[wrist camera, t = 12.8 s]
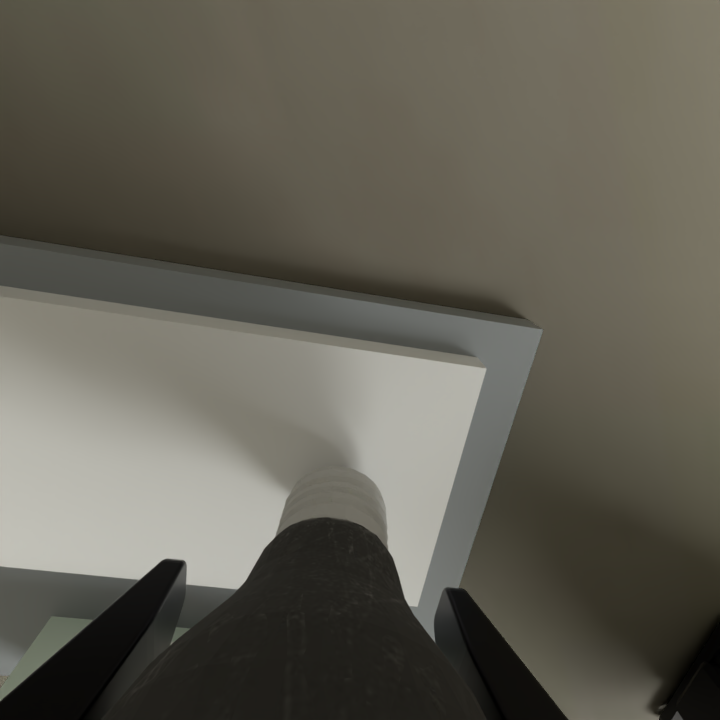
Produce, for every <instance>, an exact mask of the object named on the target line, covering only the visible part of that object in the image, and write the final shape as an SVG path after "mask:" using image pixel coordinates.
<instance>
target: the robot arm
mask: <svg viewBox="0 0 720 720" xmlns="http://www.w3.org/2000/svg"><path fill="white" fill-rule="evenodd" d="M186 576H187V564H186V562H185V561H184V560H179V559H169V558H167V559H164V560H162V561H161V562H159V563H158V564H157V565H156V566H155V567H154V568H152V569H151V570H150V571H149V572H148V573H147V574H146V575H144V576H143V577H142V578H141V579H140V580H139V581H138V582H136V583H135V584H134V585H133V586H132V587H131V588H129V589H128V590H127V591H126V592H125V593H124V594H123V595H121V596H120V597H119V598H118V599H117V600H116V601H115V602H113V603H112V604H111V605H110V606H109V607H108V608H106V609H105V610H104V611H103V612H102V613H101V614H100V615H98V616H97V617H96V618H95V619H94V620H93V621H92V622H90V623H89V624H88V625H87V626H86V627H85V628H83V629H82V630H81V631H80V632H79V633H78V634H77V635H75V636H74V637H73V638H72V639H71V640H70V641H69V642H67V643H66V644H65V645H64V646H63V647H62V648H60V649H59V650H58V651H57V652H56V653H55V654H54V655H52V656H51V657H50V658H49V659H48V660H47V661H46V662H44V663H43V664H42V665H41V666H40V667H39V668H37V669H36V670H35V671H34V672H33V673H32V674H31V675H29V676H28V677H27V678H26V679H25V680H24V681H23V682H21V683H20V684H19V685H18V686H17V687H16V688H14V689H13V690H12V691H11V692H10V693H9V694H8V695H6V696H5V697H4V698H3V699H2V700H1V701H0V720H101V719H102V718H103V717H104V715H105V714H106V713H107V712H108V711H109V710H110V709H111V708H112V706H113V705H114V704H115V703H116V702H117V701H118V700H119V699H120V698H121V696H122V695H123V694H124V693H125V692H126V691H127V690H128V688H129V687H130V686H131V685H132V684H133V683H134V681H135V680H136V679H137V678H138V677H139V676H140V674H141V673H142V672H143V671H144V670H145V669H146V667H147V666H148V665H149V664H150V663H151V662H152V661H153V660H154V659H155V658H156V657H157V656H158V655H159V654H161V653H162V652H163V651H164V650H166V649H167V648H168V647H169V646H170V644H171V641H172V638H173V635H174V632H175V629H176V626H177V623H178V620H179V616H180V613H181V610H182V607H183V604H184V600H185V595H186ZM434 634H435V643H436V645H437V646H438V647H439V649H440V650H441V651H442V653H443V654H444V655H445V656H446V658H447V659H448V660H449V662H450V663H451V664H452V666H453V667H454V668H455V670H456V671H457V672H458V674H459V675H460V676H461V678H462V679H463V680H464V681H465V683H466V684H467V685H468V687H469V688H470V689H471V691H472V692H473V694H474V696H475V698H476V699H477V701H478V703H479V705H480V707H481V709H482V711H483V713H484V715H485V717H486V719H487V720H568V719H567V718H566V716H565V715H564V714H563V712H562V711H561V710H560V709H559V707H558V706H557V705H556V704H555V702H554V701H553V700H552V699H551V697H550V696H549V695H548V694H547V692H546V691H545V690H544V688H543V687H542V686H541V685H540V683H539V682H538V681H537V680H536V678H535V677H534V676H533V675H532V673H531V672H530V671H529V670H528V668H527V667H526V666H525V664H524V663H523V662H522V661H521V659H520V658H519V657H518V656H517V654H516V653H515V652H514V651H513V649H512V648H511V647H510V646H509V644H508V643H507V642H506V641H505V639H504V638H503V637H502V635H501V634H500V633H499V632H498V630H497V629H496V628H495V627H494V625H493V624H492V623H491V622H490V620H489V619H488V618H487V617H486V615H485V614H484V613H483V611H482V610H481V609H480V608H479V606H478V605H477V604H476V603H475V601H474V600H473V599H472V598H471V596H470V595H469V594H468V593H467V591H465V590H464V589H462V588H453V587H445V588H444V589H443V591H442V594H441V597H440V600H439V603H438V606H437V610H436V613H435V617H434ZM659 720H720V623H719V624H718V626H717V627H716V629H715V630H714V632H713V633H712V635H711V637H710V638H709V640H708V641H707V643H706V645H705V646H704V648H703V649H702V651H701V652H700V654H699V656H698V657H697V659H696V660H695V662H694V663H693V665H692V667H691V668H690V670H689V671H688V673H687V674H686V676H685V678H684V679H683V681H682V682H681V684H680V685H679V687H678V689H677V690H676V692H675V693H674V695H673V696H672V698H671V700H670V701H669V703H668V704H667V706H666V708H665V709H664V711H663V712H662V714H661V715H660V718H659Z"/></svg>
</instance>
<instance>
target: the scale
mask: <svg viewBox="0 0 720 720" xmlns="http://www.w3.org/2000/svg"><path fill="white" fill-rule="evenodd" d="M542 332H543V329H542V328H540V327H539V326H537V325H535V324H534V323H532V322H531V321H529V320H527V319H521V318H515V317H509V316H502V315H496V314H490V313H484V312H477V311H471V310H465V309H459V308H452V307H446V306H440V305H434V304H427V303H421V302H415V301H409V300H402V299H396V298H390V297H384V296H377V295H371V294H365V293H359V292H353V291H346V290H340V289H334V288H328V287H321V286H315V285H309V284H303V283H296V282H290V281H284V280H278V279H271V278H265V277H259V276H253V275H246V274H240V273H234V272H228V271H221V270H215V269H209V268H203V267H196V266H190V265H184V264H178V263H171V262H165V261H159V260H153V259H146V258H140V257H134V256H128V255H121V254H115V253H109V252H103V251H96V250H90V249H84V248H78V247H72V246H65V245H59V244H53V243H47V242H40V241H34V240H28V239H22V238H15V237H9V236H3V235H0V675H3V676H9V677H8V678H7V680H6V681H5V682H4V684H3V685H2V687H1V688H0V701H1V700H2V699H3V698H4V697H5V696H6V695H8V694H9V693H10V692H11V691H12V690H13V689H14V688H16V687H17V686H18V685H19V684H20V683H21V682H23V681H24V680H25V679H26V678H27V677H28V676H29V675H31V674H32V673H33V672H34V671H35V670H36V669H37V668H39V667H40V666H41V665H42V664H43V663H44V662H46V661H47V660H48V659H49V658H50V657H51V656H52V655H54V654H55V653H56V652H57V651H58V650H59V649H60V648H62V647H63V646H64V645H65V644H66V643H67V642H69V641H70V640H71V639H72V638H73V637H74V636H75V635H77V634H78V633H79V632H80V631H81V630H82V629H83V628H85V627H86V626H87V625H88V624H89V623H90V622H92V621H93V620H94V619H95V618H96V617H97V616H98V615H100V614H101V613H102V612H103V611H104V610H105V609H106V608H108V607H109V606H110V605H111V604H112V603H113V602H115V601H116V600H117V599H118V598H119V597H120V596H121V595H123V594H124V593H125V592H126V591H127V590H128V589H129V588H131V587H132V586H133V585H134V584H135V583H136V582H138V581H139V580H140V579H141V578H142V577H143V576H144V575H146V574H147V573H148V572H149V571H150V570H151V569H152V568H154V567H155V566H156V565H157V564H158V563H159V562H161V561H162V560H164V559H167V558H169V559H179V560H184V561H185V562H186V564H187V576H186V595H185V600H184V604H183V607H182V610H181V613H180V616H179V620H178V623H177V626H176V629H175V632H174V635H173V638H172V641H171V644H172V643H173V642H174V641H176V640H177V639H178V638H179V637H180V636H182V635H183V634H184V633H185V632H187V631H188V630H189V629H190V628H192V627H193V626H194V625H195V624H197V623H198V622H199V621H201V620H202V619H203V618H204V617H206V616H207V615H208V614H209V613H211V612H212V611H213V610H214V609H216V608H217V607H218V606H219V605H221V604H222V603H223V602H224V601H226V600H227V599H228V598H230V597H231V596H232V595H233V594H234V593H235V592H236V591H237V590H238V589H239V588H240V587H241V586H242V584H243V583H244V582H245V581H246V579H247V578H248V576H249V574H250V573H251V571H252V569H253V567H254V566H255V564H256V562H257V560H258V559H259V557H260V555H261V553H262V552H263V550H264V548H265V547H266V546H267V545H268V544H269V543H270V542H271V541H272V540H273V539H274V537H275V536H276V532H277V529H278V526H279V523H280V518H281V516H282V513H283V509H284V506H285V502H286V499H287V498H288V496H289V495H290V493H291V491H292V489H293V487H294V486H295V484H296V483H297V481H298V480H299V479H301V478H302V477H303V476H304V475H305V474H306V473H309V472H311V471H313V470H316V469H318V468H321V467H328V466H340V467H347V468H352V469H354V470H356V471H358V472H360V473H363V474H365V475H366V476H367V477H368V478H370V479H371V480H372V481H373V482H374V483H375V484H376V486H377V487H378V489H379V490H380V492H381V495H382V497H383V500H384V503H385V506H386V520H387V527H388V528H387V534H388V541H387V545H388V551H389V553H390V554H391V556H392V557H393V560H394V563H395V566H396V569H397V572H398V575H399V579H400V583H401V586H402V590H403V594H404V597H405V600H406V602H407V603H408V605H409V607H410V609H411V611H412V612H413V614H414V616H415V617H416V618H417V620H418V621H419V622H420V624H421V625H422V626H423V628H424V629H425V630H426V631H427V633H428V634H429V635H430V637H431V638H432V639H433V641H434V642H435V634H434V617H435V613H436V610H437V606H438V603H439V600H440V597H441V594H442V591H443V589H444V588H445V587H453V588H459V585H460V582H461V579H462V576H463V573H464V570H465V567H466V564H467V561H468V557H469V554H470V551H471V548H472V545H473V542H474V539H475V536H476V533H477V530H478V527H479V524H480V521H481V518H482V515H483V512H484V509H485V506H486V503H487V500H488V497H489V494H490V491H491V488H492V484H493V481H494V478H495V475H496V472H497V469H498V466H499V463H500V460H501V457H502V454H503V451H504V448H505V445H506V442H507V439H508V436H509V433H510V430H511V427H512V424H513V421H514V418H515V415H516V411H517V408H518V405H519V402H520V399H521V396H522V393H523V390H524V387H525V384H526V381H527V378H528V375H529V372H530V369H531V366H532V363H533V360H534V357H535V354H536V351H537V348H538V345H539V342H540V338H541V335H542ZM171 644H170V645H171Z"/></svg>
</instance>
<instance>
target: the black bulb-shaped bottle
mask: <svg viewBox="0 0 720 720" xmlns="http://www.w3.org/2000/svg"><path fill="white" fill-rule="evenodd" d="M387 528H388V527H387V520H386V506H385V503H384V500H383V497H382V495H381V492H380V490H379V489H378V487H377V486H376V484H375V483H374V482H373V481H372V480H371V479H370V478H368V477H367V476H366V475H365V474H363V473H360V472H358V471H356V470H354V469H352V468H347V467H340V466H328V467H321V468H318V469H316V470H313V471H311V472H309V473H306V474H305V475H304V476H303V477H302V478H301V479H299V480H298V481H297V483H296V484H295V486H294V487H293V489H292V491H291V493H290V495H289V496H288V498H287V499H286V502H285V506H284V509H283V513H282V516H281V518H280V523H279V526H278V529H277V532H276V536H275V537H274V539H273V540H272V541H271V542H270V543H269V544H268V545H267V546H266V547H265V548H264V550H263V552H262V553H261V555H260V557H259V559H258V560H257V562H256V564H255V566H254V567H253V569H252V571H251V573H250V574H249V576H248V578H247V579H246V581H245V582H244V583H243V584H242V586H241V587H240V588H239V589H238V590H237V591H236V592H235V593H234V594H233V595H232V596H231V597H230V598H228V599H227V600H226V601H224V602H223V603H222V604H221V605H219V606H218V607H217V608H216V609H214V610H213V611H212V612H211V613H209V614H208V615H207V616H206V617H204V618H203V619H202V620H201V621H199V622H198V623H197V624H195V625H194V626H193V627H192V628H190V629H189V630H188V631H187V632H185V633H184V634H183V635H182V636H180V637H179V638H178V639H177V640H176V641H174V642H173V643H172V644H171V645H170V646H169V647H168V648H167V649H166V650H164V651H163V652H162V653H161V654H159V655H158V656H157V657H156V658H155V659H154V660H153V661H152V662H151V663H150V664H149V665H148V666H147V667H146V669H145V670H144V671H143V672H142V673H141V674H140V676H139V677H138V678H137V679H136V680H135V681H134V683H133V684H132V685H131V686H130V687H129V688H128V690H127V691H126V692H125V693H124V694H123V695H122V696H121V698H120V699H119V700H118V701H117V702H116V703H115V704H114V705H113V706H112V708H111V709H110V710H109V711H108V712H107V713H106V714H105V715H104V717H103V718H102V719H101V720H487V719H486V717H485V715H484V713H483V711H482V709H481V707H480V705H479V703H478V701H477V699H476V698H475V696H474V694H473V692H472V691H471V689H470V688H469V687H468V685H467V684H466V683H465V681H464V680H463V679H462V678H461V676H460V675H459V674H458V672H457V671H456V670H455V668H454V667H453V666H452V664H451V663H450V662H449V660H448V659H447V658H446V656H445V655H444V654H443V653H442V651H441V650H440V649H439V647H438V646H437V645H436V643H435V642H434V641H433V639H432V638H431V637H430V635H429V634H428V633H427V631H426V630H425V629H424V628H423V626H422V625H421V624H420V622H419V621H418V620H417V618H416V617H415V616H414V614H413V612H412V611H411V609H410V607H409V605H408V603H407V602H406V600H405V597H404V594H403V590H402V586H401V583H400V579H399V575H398V572H397V569H396V566H395V563H394V560H393V557H392V556H391V554H390V553H389V551H388V545H387V541H388V534H387Z"/></svg>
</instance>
